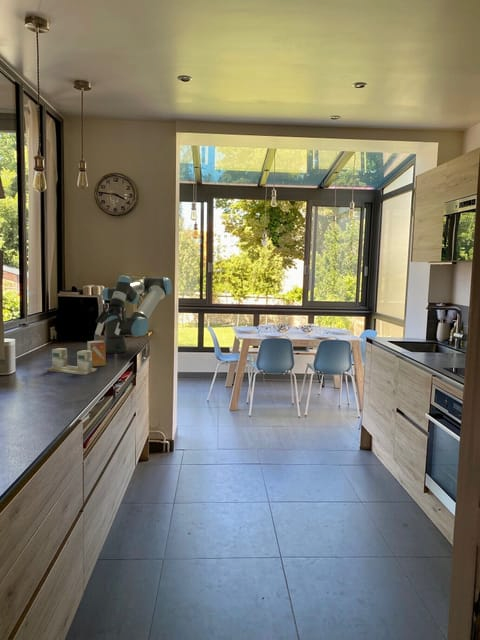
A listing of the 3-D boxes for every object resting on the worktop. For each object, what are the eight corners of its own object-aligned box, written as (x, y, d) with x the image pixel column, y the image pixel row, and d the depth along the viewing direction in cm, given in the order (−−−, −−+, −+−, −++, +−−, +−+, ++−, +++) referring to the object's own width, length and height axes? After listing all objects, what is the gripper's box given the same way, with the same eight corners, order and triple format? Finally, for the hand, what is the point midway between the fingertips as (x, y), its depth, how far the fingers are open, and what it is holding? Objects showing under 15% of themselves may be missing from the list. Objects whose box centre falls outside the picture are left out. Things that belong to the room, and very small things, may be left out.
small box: (90, 367, 234) (90, 343, 232) (87, 364, 239) (87, 341, 237) (106, 365, 238) (105, 341, 236) (102, 363, 243) (102, 339, 242)
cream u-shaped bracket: (61, 366, 233) (60, 347, 232) (96, 370, 227) (96, 350, 226) (47, 370, 224) (46, 350, 222) (84, 374, 217) (84, 353, 216)
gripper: (96, 298, 255) (84, 331, 246) (132, 296, 245) (121, 331, 236) (104, 304, 261) (93, 336, 252) (139, 303, 251) (128, 337, 242)
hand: (106, 334), depth 244 cm, fingers open, 13 cm apart
